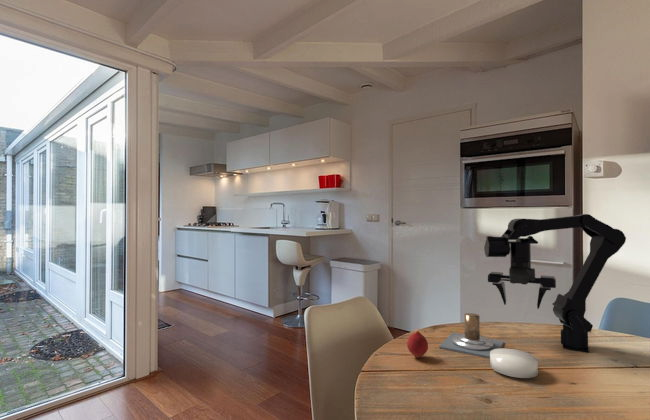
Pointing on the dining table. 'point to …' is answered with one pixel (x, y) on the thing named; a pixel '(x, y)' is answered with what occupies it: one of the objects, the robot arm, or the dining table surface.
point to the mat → (450, 346)
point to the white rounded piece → (514, 363)
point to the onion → (417, 344)
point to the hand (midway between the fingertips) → (521, 306)
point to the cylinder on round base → (472, 335)
